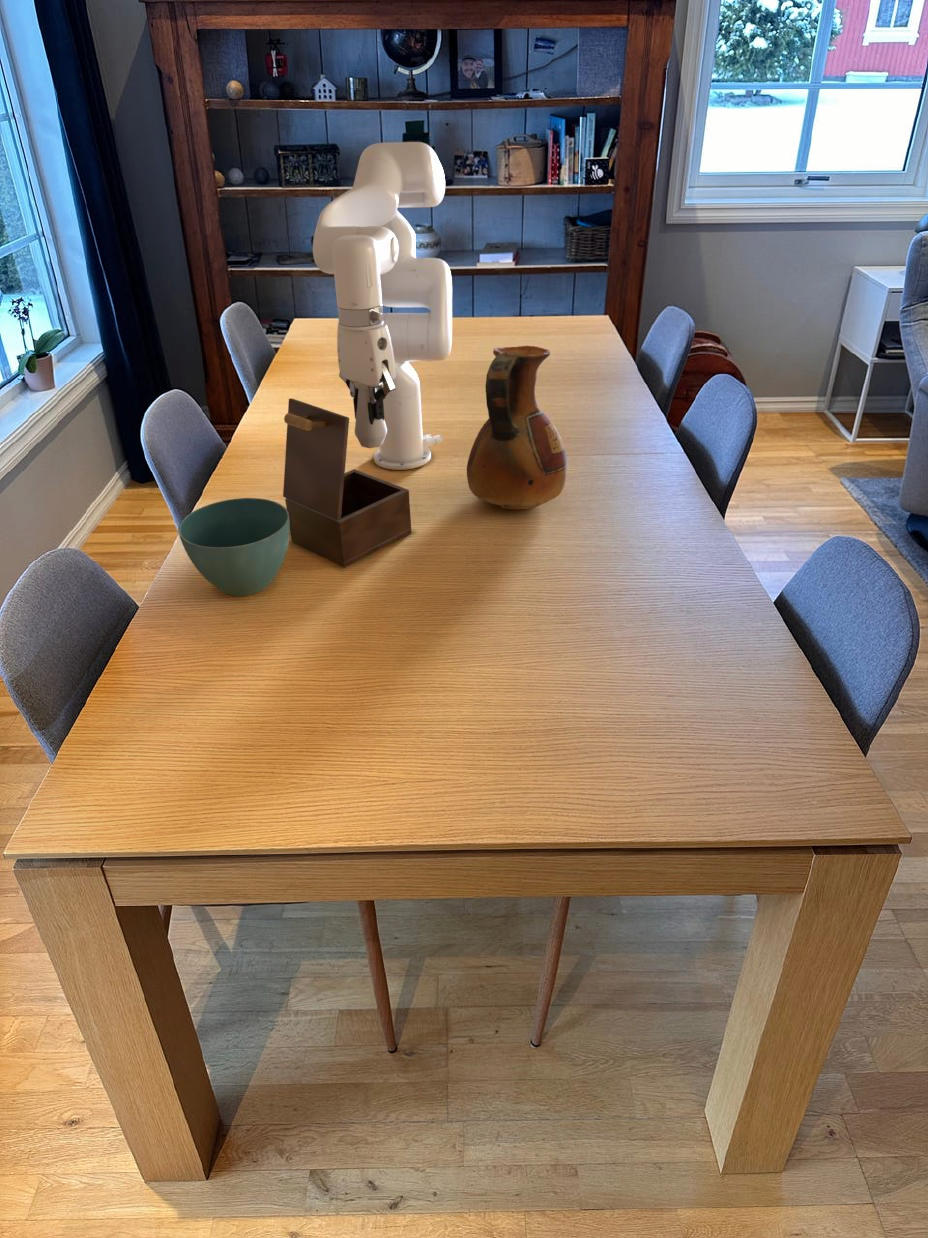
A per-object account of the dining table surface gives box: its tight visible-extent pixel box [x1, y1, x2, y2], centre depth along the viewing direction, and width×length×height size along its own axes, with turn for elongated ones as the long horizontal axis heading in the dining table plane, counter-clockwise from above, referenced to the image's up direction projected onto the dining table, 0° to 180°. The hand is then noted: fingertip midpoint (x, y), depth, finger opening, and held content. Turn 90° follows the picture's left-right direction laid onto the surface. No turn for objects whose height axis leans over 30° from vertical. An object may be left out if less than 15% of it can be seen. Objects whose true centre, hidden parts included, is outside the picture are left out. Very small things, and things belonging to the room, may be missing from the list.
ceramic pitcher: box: [466, 345, 568, 510], centre depth 178 cm, size 20×20×30 cm
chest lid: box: [282, 398, 350, 521], centre depth 158 cm, size 18×15×5 cm
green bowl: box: [177, 497, 290, 597], centre depth 157 cm, size 18×18×12 cm
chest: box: [284, 468, 413, 568], centre depth 171 cm, size 17×15×9 cm
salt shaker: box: [354, 380, 387, 449], centre depth 163 cm, size 6×6×13 cm
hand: (369, 418), depth 164 cm, fingers closed on salt shaker, 3 cm apart
